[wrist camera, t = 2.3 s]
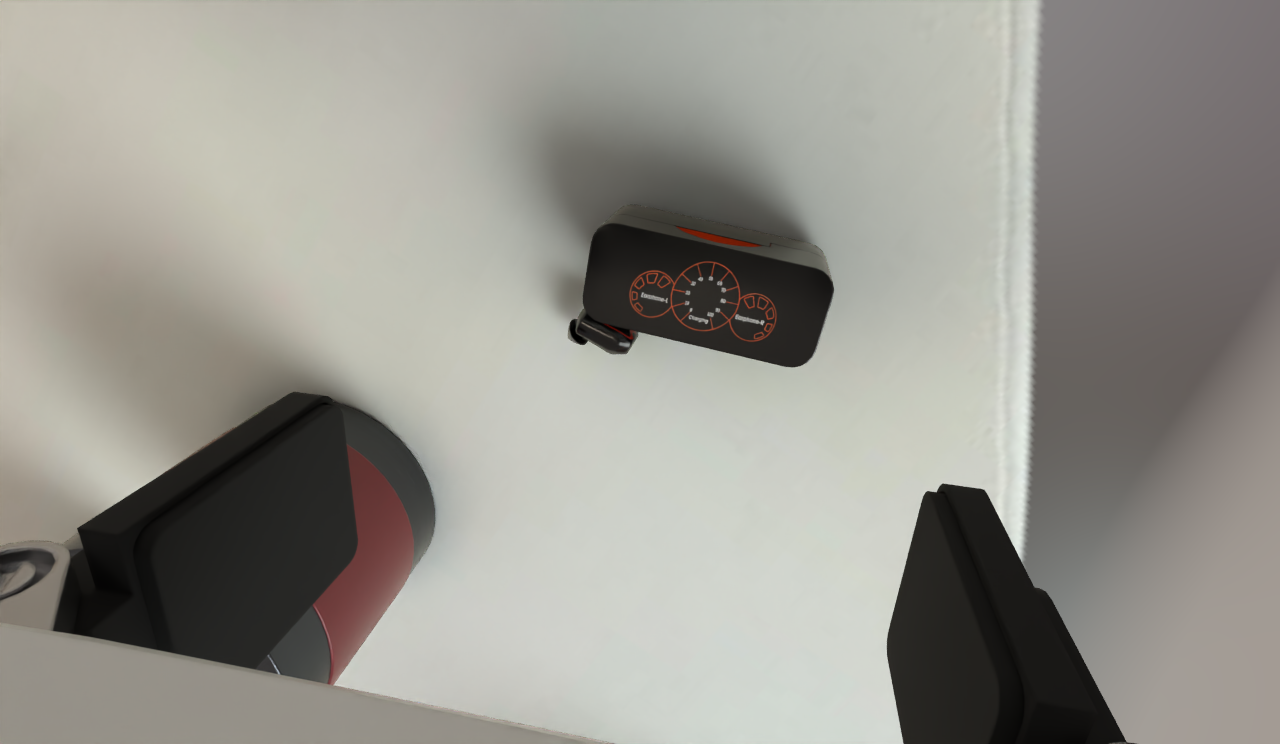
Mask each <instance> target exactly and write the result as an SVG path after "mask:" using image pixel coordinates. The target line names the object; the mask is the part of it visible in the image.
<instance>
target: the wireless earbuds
mask: <svg viewBox="0 0 1280 744" xmlns="http://www.w3.org/2000/svg"><path fill="white" fill-rule="evenodd" d="M833 293H834V287H833V282H832V278H831V275H830V271H829V267H828V264H827V260H826V257H825V255H824V253H823V251H822V250H821V249H819V248H818V247H817V246H815V245H813V244H811V243H807V242H802V241H798V240H793V239H789V238H784V237H780V236H775V235H771V234H767V233H762V232H758V231H753V230H749V229H744V228H740V227H735V226H731V225H726V224H722V223H717V222H713V221H708V220H704V219H699V218H695V217H690V216H686V215H681V214H677V213H672V212H668V211H663V210H659V209H654V208H650V207H645V206H641V205H626V206H623V207H622V208H620V209H619V210H618V211H616V212H615V213H614V214H613V215H612V216H611V217H610V218H609V219H608V220H607V221H606V222H605V223H604V224H603V225H602V226H600V227H599V228H598V229H597V231H596V232H595V233H594V235H593V238H592V241H591V246H590V253H589V259H588V266H587V272H586V278H585V285H584V291H583V305H584V309H583V310H582V311H581V312H580V314H579V316H578V319H573V320H572V321H571V322H570V325H569V328H568V338H569V339H570V340H571V341H572V342H574V343H576V344H580V345H585V344H586V343H587V342H588V341H589V342H591V343H593V344H595V345H596V346H598V347H600V348H601V349H603V350H604V351H606V352H608V353H610V354H627V353H628V351H629V350H630V349H631V347H632V346H633V344H634V342H635V340H636V339H637V337H638V332H642V333H646V334H650V335H654V336H659V337H663V338H667V339H671V340H675V341H680V342H684V343H688V344H692V345H696V346H701V347H705V348H709V349H713V350H717V351H722V352H726V353H730V354H734V355H738V356H743V357H747V358H751V359H755V360H759V361H764V362H768V363H772V364H776V365H780V366H785V367H798V366H801V365H803V364H805V363H807V362H808V361H809V360H810V359H811V358H812V357H813V355H814V353H815V352H816V349H817V346H818V343H819V339H820V336H821V333H822V330H823V327H824V324H825V321H826V317H827V314H828V311H829V308H830V305H831V302H832V299H833Z"/></svg>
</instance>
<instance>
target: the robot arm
mask: <svg viewBox="0 0 1280 744" xmlns="http://www.w3.org/2000/svg"><path fill="white" fill-rule="evenodd" d="M77 529H78V532H79V536H80V539H81V542H82V545H83V550H81V551H80V552H78V553H77V554H75V555H74V556H72V557H71V556H70V553H69V551H68V550H67V549H66V548H65V547H64V546H63V545H61V544H58V543H54V542H51V541H23V542H16V543H9V544H5V545H2V546H0V744H614V743H609V742H604V741H599V740H595V739H590V738H585V737H581V736H576V735H571V734H567V733H562V732H557V731H552V730H548V729H543V728H538V727H533V726H528V725H524V724H519V723H514V722H509V721H504V720H499V719H495V718H490V717H485V716H480V715H475V714H470V713H466V712H461V711H456V710H451V709H446V708H442V707H437V706H432V705H427V704H422V703H417V702H412V701H407V700H403V699H398V698H393V697H388V696H383V695H378V694H373V693H369V692H364V691H359V690H354V689H349V688H344V687H339V686H334V685H329V684H324V683H319V682H314V681H309V680H304V679H299V678H294V677H289V676H284V675H279V674H274V673H269V672H264V671H259V670H255V669H256V668H257V666H258V665H259V664H260V663H261V662H262V661H263V660H264V659H265V658H266V656H267V655H268V654H269V653H270V652H271V651H272V650H273V649H274V647H275V646H276V645H277V644H278V643H279V642H280V641H281V640H282V639H283V637H284V636H285V635H286V634H287V633H288V632H289V631H290V630H291V628H292V627H293V626H294V625H295V624H296V623H297V622H298V621H299V620H300V618H301V617H302V616H303V615H304V614H305V613H306V612H307V611H308V609H309V608H310V607H311V606H312V605H313V604H314V603H315V602H316V601H317V599H318V598H319V597H320V596H321V595H322V594H323V593H324V592H325V590H326V589H327V588H328V587H329V586H330V585H331V584H332V583H333V581H334V580H335V579H336V578H337V577H338V576H339V575H340V574H341V573H342V571H343V570H344V569H345V568H346V567H347V566H348V565H349V564H350V562H351V561H352V560H353V558H354V556H355V554H356V550H357V546H358V535H357V526H356V518H355V510H354V501H353V493H352V485H351V476H350V468H349V460H348V451H347V443H346V435H345V426H344V418H343V413H342V411H341V409H340V408H339V407H337V406H335V404H334V402H333V400H332V399H331V398H329V397H328V396H321V395H314V394H307V393H300V392H293V393H290V394H288V395H287V396H285V397H283V398H282V399H280V400H279V401H277V402H276V403H274V404H272V405H271V406H269V407H268V408H266V409H265V410H263V411H261V412H260V413H258V414H257V415H255V416H254V417H252V418H250V419H249V420H247V421H246V422H244V423H242V424H241V425H239V426H238V427H236V428H235V429H233V430H231V431H230V432H228V433H227V434H225V435H224V436H222V437H220V438H219V439H217V440H216V441H214V442H213V443H211V444H209V445H208V446H206V447H205V448H203V449H201V450H200V451H198V452H197V453H195V454H194V455H192V456H190V457H189V458H187V459H186V460H184V461H183V462H181V463H179V464H178V465H176V466H175V467H173V468H172V469H170V470H168V471H167V472H165V473H164V474H162V475H161V476H159V477H157V478H156V479H154V480H153V481H151V482H149V483H148V484H146V485H145V486H143V487H142V488H140V489H138V490H137V491H135V492H134V493H132V494H131V495H129V496H127V497H126V498H124V499H123V500H121V501H120V502H118V503H116V504H115V505H113V506H112V507H110V508H109V509H107V510H105V511H104V512H102V513H101V514H99V515H97V516H96V517H94V518H93V519H91V520H90V521H88V522H86V523H85V524H83V525H82V526H80V527H79V528H77ZM887 657H888V663H889V668H890V674H891V679H892V684H893V689H894V695H895V700H896V705H897V711H898V716H899V721H900V727H901V732H902V737H903V743H904V744H1135V743H1127V742H1126V740H1125V738H1124V736H1123V735H1122V732H1121V731H1120V729H1119V727H1118V725H1117V723H1116V721H1115V719H1114V717H1113V715H1112V713H1111V712H1110V710H1109V708H1108V706H1107V704H1106V702H1105V700H1104V699H1103V696H1102V695H1101V693H1100V691H1099V689H1098V687H1097V685H1096V683H1095V681H1094V679H1093V677H1092V676H1091V674H1090V672H1089V670H1088V668H1087V666H1086V664H1085V663H1084V660H1083V658H1082V656H1081V655H1080V653H1079V651H1078V649H1077V647H1076V645H1075V643H1074V641H1073V639H1072V638H1071V636H1070V634H1069V632H1068V630H1067V628H1066V626H1065V624H1064V623H1063V620H1062V618H1061V617H1060V615H1059V613H1058V611H1057V609H1056V607H1055V605H1054V603H1053V601H1052V600H1051V598H1050V597H1049V595H1048V594H1047V593H1046V592H1045V591H1043V590H1042V589H1040V588H1034V586H1033V584H1032V582H1031V580H1030V578H1029V576H1028V574H1027V572H1026V570H1025V568H1024V566H1023V564H1022V562H1021V560H1020V558H1019V556H1018V554H1017V552H1016V550H1015V548H1014V546H1013V544H1012V542H1011V540H1010V538H1009V536H1008V534H1007V532H1006V530H1005V528H1004V526H1003V524H1002V522H1001V520H1000V518H999V516H998V514H997V512H996V511H995V509H994V507H993V505H992V503H991V501H990V499H989V497H988V495H987V493H986V492H985V490H983V489H977V488H970V487H963V486H956V485H949V484H942V485H940V487H939V489H938V490H937V493H936V492H929V491H927V492H926V493H925V494H924V496H923V499H922V503H921V507H920V510H919V514H918V518H917V522H916V526H915V530H914V534H913V538H912V542H911V545H910V549H909V553H908V557H907V561H906V565H905V569H904V573H903V577H902V581H901V584H900V588H899V592H898V596H897V600H896V604H895V608H894V612H893V616H892V619H891V623H890V627H889V632H888V638H887Z"/></svg>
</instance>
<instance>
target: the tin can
mask: <svg viewBox="0 0 1280 744" xmlns="http://www.w3.org/2000/svg"><path fill="white" fill-rule="evenodd" d="M334 404H335V406H337V407H339V408H340V409H341V411H342V413H343V418H344V426H345V435H346V443H347V451H348V460H349V468H350V476H351V485H352V493H353V501H354V510H355V518H356V526H357V535H358V546H357V550H356V554H355V556H354V558H353V560H352V561H351V562H350V564H349V565H348V566H347V567H346V568H345V569H344V570H343V571H342V573H341V574H340V575H339V576H338V577H337V578H336V579H335V580H334V581H333V583H332V584H331V585H330V586H329V587H328V588H327V589H326V590H325V592H324V593H323V594H322V595H321V596H320V597H319V598H318V599H317V601H316V602H315V603H314V604H313V605H312V606H311V607H310V608H309V609H308V611H307V612H306V613H305V614H304V615H303V616H302V617H301V618H300V620H299V621H298V622H297V623H296V624H295V625H294V626H293V627H292V628H291V630H290V631H289V632H288V633H287V634H286V635H285V636H284V637H283V639H282V640H281V641H280V642H279V643H278V644H277V645H276V646H275V647H274V649H273V650H272V651H271V652H270V653H269V654H268V655H267V656H266V658H265V659H264V660H263V661H262V662H261V663H260V664H259V665H258V666H257V668H256V669H255V670H259V671H264V672H269V673H274V674H279V675H284V676H289V677H294V678H299V679H304V680H309V681H314V682H319V683H324V684H329V685H334V683H335V682H336V680H337V679H338V678H339V676H340V675H341V673H342V672H343V671H344V669H345V668H346V666H347V665H348V664H349V662H350V661H351V659H352V658H353V657H354V655H355V654H356V652H357V651H358V649H359V648H360V647H361V645H362V644H363V642H364V641H365V640H366V638H367V637H368V635H369V634H370V633H371V631H372V630H373V628H374V627H375V625H376V624H377V623H378V621H379V620H380V618H381V617H382V616H383V614H384V613H385V611H386V610H387V609H388V607H389V606H390V604H391V603H392V602H393V600H394V599H395V597H396V596H397V594H398V593H399V592H400V590H401V589H402V587H403V586H404V584H405V582H406V580H407V579H408V577H409V575H410V573H411V572H412V571H413V569H414V568H415V566H416V565H417V564H418V562H419V561H420V559H421V558H422V557H423V555H424V554H425V552H426V550H427V548H428V546H429V545H430V542H431V539H432V536H433V532H434V525H435V508H434V501H433V496H432V493H431V489H430V486H429V484H428V481H427V479H426V477H425V475H424V473H423V471H422V469H421V467H420V466H419V464H418V462H417V461H416V459H415V458H414V457H413V455H412V454H411V453H410V451H409V450H408V449H407V448H406V447H405V446H404V444H403V443H402V442H401V441H400V440H399V439H398V438H397V437H396V436H395V435H393V434H392V433H391V432H390V431H389V430H388V429H387V428H385V427H384V426H382V425H381V424H380V423H378V422H377V421H375V420H374V419H372V418H370V417H369V416H367V415H365V414H363V413H362V412H360V411H357V410H355V409H353V408H350V407H348V406H345V405H342V404H339V403H336V402H334ZM269 406H271V405H269ZM269 406H267V407H266V408H268V407H269ZM266 408H264V409H262V410H261V411H263V410H265V409H266ZM261 411H259V412H257V413H256V414H254V415H253V416H251V417H250V418H252V417H254V416H255V415H257V414H258V413H260V412H261ZM250 418H248V419H247V420H249V419H250ZM247 420H246V421H247ZM246 421H244V422H246ZM244 422H243V423H244ZM241 424H242V423H241ZM241 424H240V425H241ZM238 426H239V425H238ZM238 426H237V427H238ZM235 428H236V427H234V428H232V429H230V430H228V431H227V432H225V433H223V434H222V435H220V436H219V437H217V438H216V439H214V440H213V441H211V442H210V443H208V444H207V445H205V446H204V447H202V448H201V449H203V448H205V447H206V446H208V445H209V444H211V443H213V442H214V441H216V440H217V439H219V438H220V437H222V436H224V435H225V434H227V433H228V432H230V431H231V430H233V429H235ZM201 449H199V450H198V451H200V450H201ZM198 451H196V452H195V453H197V452H198ZM195 453H193V454H192V455H194V454H195ZM192 455H190V456H192ZM190 456H189V457H190ZM189 457H187V458H189ZM187 458H186V459H187ZM186 459H184V460H186ZM184 460H183V461H184ZM183 461H181V462H183ZM181 462H180V463H181ZM178 464H179V463H178ZM178 464H177V465H178ZM175 466H176V465H175ZM175 466H174V467H175ZM172 468H173V467H172ZM172 468H171V469H172ZM169 470H170V469H169ZM166 472H167V471H166ZM163 474H164V473H163ZM160 476H161V475H160ZM61 545H63V546H64V547H65V548H66V549H67V550H68V551H69V553H70V556H71V557H72V556H74V555H75V554H77V553H78V552H80V551H81V550H83V545H82V542H81V539H80V536H79V533H78V534H76V535H75V536H73V537H72V538H70V539H69V540H67V541H66V542H64V543H63V544H61Z"/></svg>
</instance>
